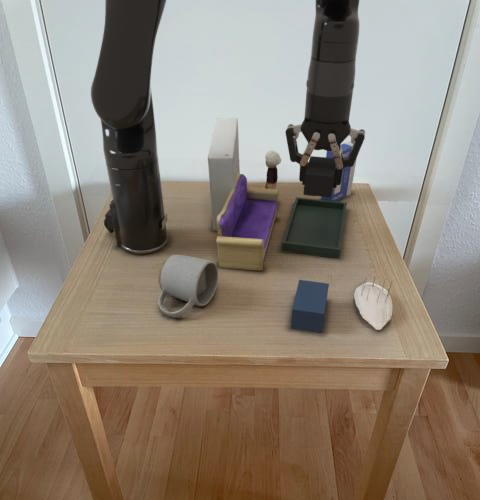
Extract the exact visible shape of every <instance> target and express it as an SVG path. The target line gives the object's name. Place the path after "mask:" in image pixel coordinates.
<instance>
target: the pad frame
mask: <svg viewBox="0 0 480 500" xmlns="http://www.w3.org/2000/svg"><path fill="white" fill-rule="evenodd" d="M347 205H348V202H346V201H339V200H338V201H328V200H321V199H317V198H307V197H298V196H296V197H295V199H294V203H293V206H292V209H291V212H290V216H289V218H288V221H287V225H286V228H285V231H284V234H283V238H282V241H281V252H285V253H293V254H302V255H308V256H309V255H310V256H317V257H325V258H333V259H340V254H341V249H342V242H343V233H344V228H345V227H344V226H345V219H346V213H347Z"/></svg>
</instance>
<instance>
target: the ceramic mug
mask: <svg viewBox="0 0 480 500" xmlns="http://www.w3.org/2000/svg"><path fill="white" fill-rule="evenodd" d="M218 281H219V269H218V266H217V264H216V263H215V261H213V260H210V259H209V260H208V259H203V258H199V257H194V256H188V255H183V254H171V255H168V257H166V258H165V260H164V261H163V262H162V264H161V266H160V268H159V271H158V284H159V288H160V289H161V292H160V293H159V296H158V300H157V303H158V307H159V309H160V311H161V312H162V313H163V315H165V316H167V317H169V318H171V319H172V318H173V319H175V318H180V317H183V316H185V315H186V314H187V313H189V312H190V310H191V309H193V307H194V306H198V307H204V306H206V305H208V304H209V303H210V302H211V300H212V299H213V297H214V295H215V293H216V291H217V287H218ZM167 296H169V297H173V298H176V299H179V300H182V301H184V302H186V304H185V305H184V306H183V307H182V308H180V309H179V310H175V311H172V312H171V311H169V310H168V308H167V307H165V306H164V302H165V299H166V297H167Z"/></svg>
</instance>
